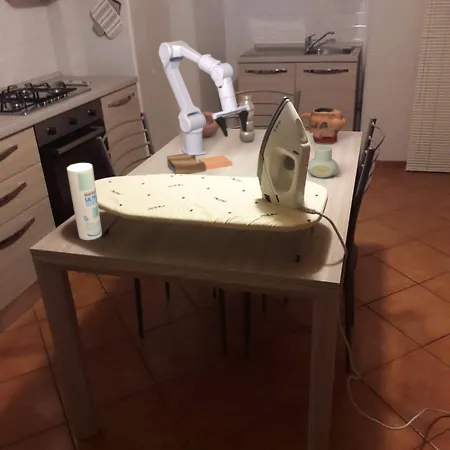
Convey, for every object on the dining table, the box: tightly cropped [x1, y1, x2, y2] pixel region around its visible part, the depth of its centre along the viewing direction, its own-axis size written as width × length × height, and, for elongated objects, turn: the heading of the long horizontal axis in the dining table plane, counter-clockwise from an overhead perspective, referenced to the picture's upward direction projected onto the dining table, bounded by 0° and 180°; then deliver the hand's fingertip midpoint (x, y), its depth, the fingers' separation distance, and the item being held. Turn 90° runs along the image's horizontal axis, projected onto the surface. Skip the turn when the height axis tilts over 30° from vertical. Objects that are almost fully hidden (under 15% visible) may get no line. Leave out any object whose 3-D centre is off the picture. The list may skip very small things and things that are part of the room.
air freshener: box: [307, 145, 339, 179], centre depth 176 cm, size 11×8×10 cm
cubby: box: [166, 153, 206, 175], centre depth 188 cm, size 11×11×4 cm
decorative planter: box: [299, 107, 347, 145], centre depth 213 cm, size 20×12×14 cm, turn 78°
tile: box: [198, 154, 232, 171], centre depth 192 cm, size 8×10×2 cm
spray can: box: [66, 162, 103, 241], centre depth 136 cm, size 6×6×20 cm
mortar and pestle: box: [201, 111, 220, 138], centre depth 226 cm, size 12×12×12 cm
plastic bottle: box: [238, 93, 256, 143], centre depth 215 cm, size 6×7×20 cm
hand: (235, 133), depth 189 cm, fingers open, 7 cm apart
